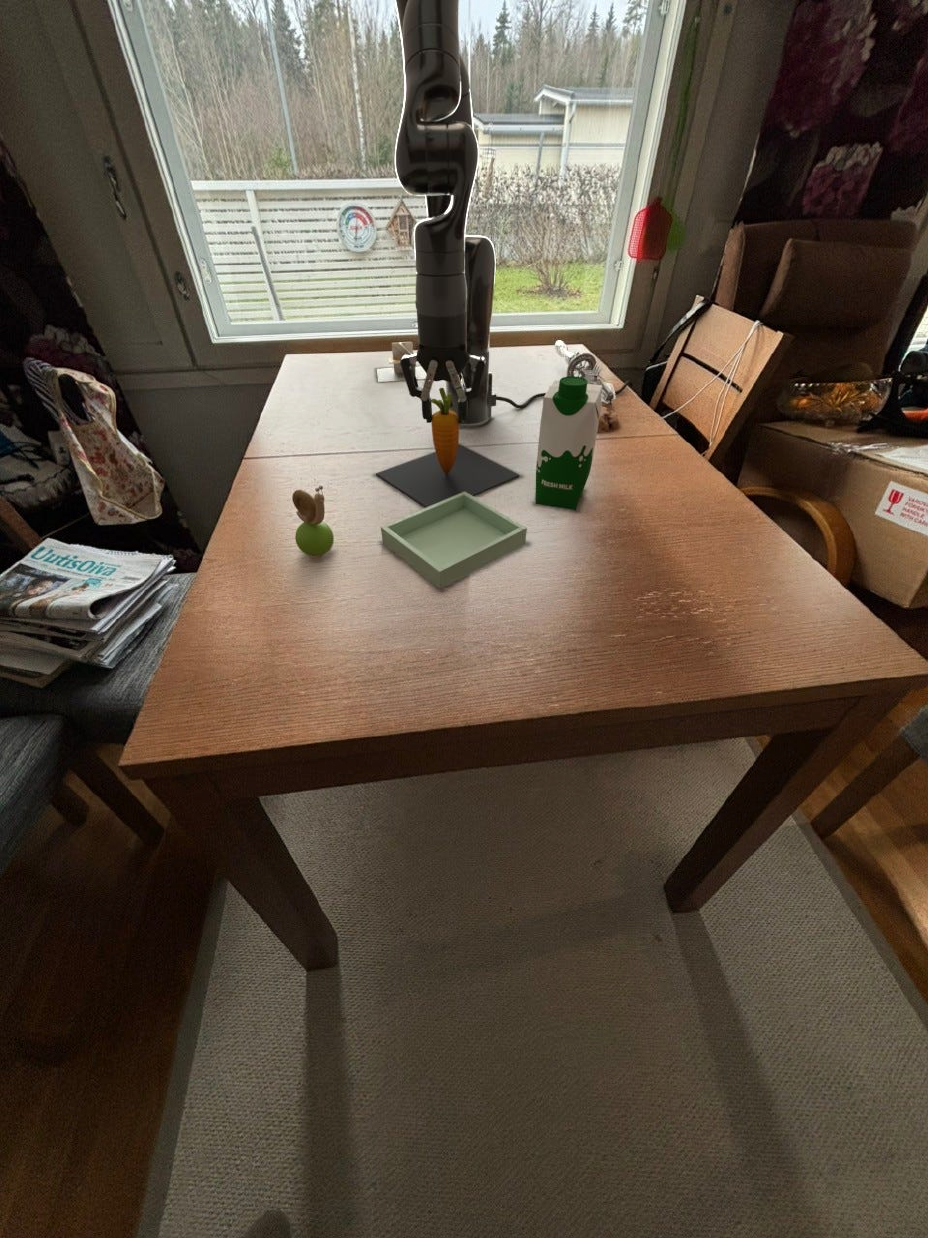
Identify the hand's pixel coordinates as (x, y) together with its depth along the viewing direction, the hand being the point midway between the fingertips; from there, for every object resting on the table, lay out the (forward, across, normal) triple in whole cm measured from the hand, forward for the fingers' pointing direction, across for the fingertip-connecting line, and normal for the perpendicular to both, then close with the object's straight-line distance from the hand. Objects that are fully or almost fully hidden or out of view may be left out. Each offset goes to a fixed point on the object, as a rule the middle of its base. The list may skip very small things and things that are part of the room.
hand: (445, 421), depth 87 cm
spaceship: (+10, -28, -51) cm, 59 cm away
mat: (+10, 0, 0) cm, 10 cm away
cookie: (+10, -30, -27) cm, 41 cm away
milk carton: (+10, -21, +6) cm, 24 cm away
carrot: (+10, 0, 0) cm, 10 cm away
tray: (+10, -4, +22) cm, 24 cm away
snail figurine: (+11, +16, +26) cm, 33 cm away
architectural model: (+10, +18, -58) cm, 62 cm away
